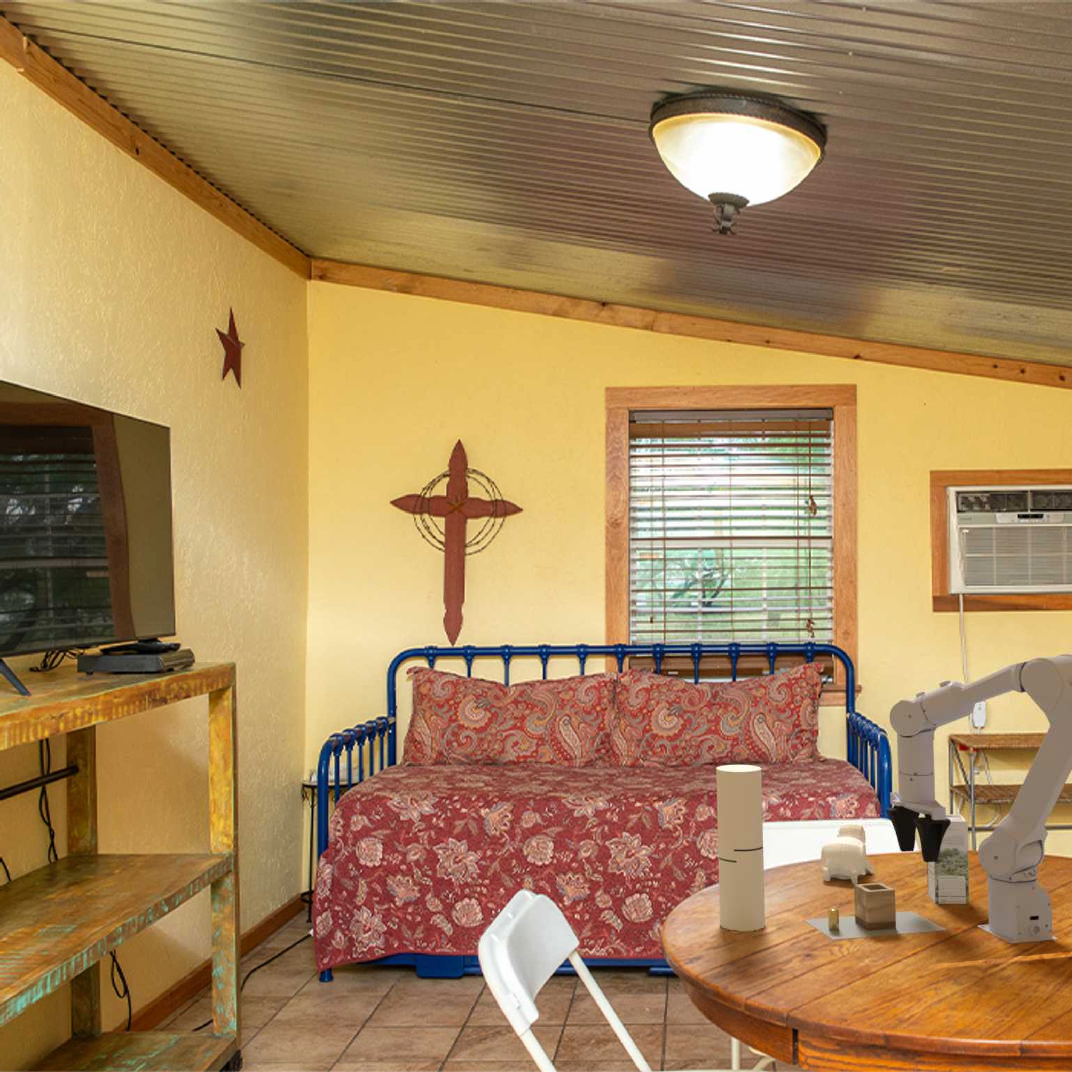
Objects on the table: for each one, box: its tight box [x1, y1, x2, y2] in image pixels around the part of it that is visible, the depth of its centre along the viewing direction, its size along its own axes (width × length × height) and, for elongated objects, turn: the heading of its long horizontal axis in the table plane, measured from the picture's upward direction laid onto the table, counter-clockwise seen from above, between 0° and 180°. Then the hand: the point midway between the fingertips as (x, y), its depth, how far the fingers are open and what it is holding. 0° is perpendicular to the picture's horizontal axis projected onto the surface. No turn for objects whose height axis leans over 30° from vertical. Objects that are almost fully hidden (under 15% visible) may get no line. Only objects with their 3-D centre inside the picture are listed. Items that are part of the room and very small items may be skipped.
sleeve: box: [853, 882, 897, 931], centre depth 194 cm, size 5×5×6 cm
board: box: [802, 910, 948, 941], centre depth 194 cm, size 11×19×1 cm, turn 102°
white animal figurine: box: [820, 822, 875, 885], centre depth 229 cm, size 9×8×15 cm
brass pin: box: [827, 908, 840, 931], centre depth 192 cm, size 2×2×4 cm
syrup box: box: [926, 813, 970, 905], centre depth 208 cm, size 6×6×14 cm
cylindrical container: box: [715, 764, 766, 932], centre depth 198 cm, size 7×7×25 cm
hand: (918, 856), depth 202 cm, fingers open, 7 cm apart
